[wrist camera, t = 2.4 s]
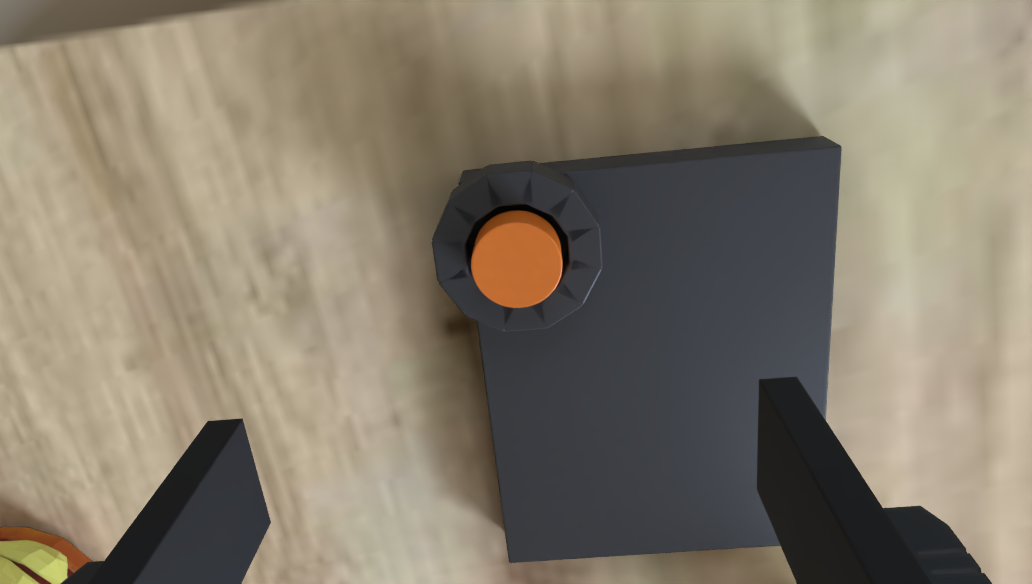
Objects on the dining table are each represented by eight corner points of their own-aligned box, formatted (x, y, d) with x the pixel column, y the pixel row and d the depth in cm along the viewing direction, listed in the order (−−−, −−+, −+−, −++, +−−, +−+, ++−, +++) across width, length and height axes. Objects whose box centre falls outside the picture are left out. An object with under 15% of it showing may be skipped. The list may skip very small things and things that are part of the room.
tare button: (468, 214, 28) (465, 226, 26) (557, 205, 27) (558, 218, 26) (479, 295, 29) (476, 312, 27) (564, 287, 29) (565, 304, 27)
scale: (434, 159, 30) (421, 180, 27) (824, 120, 29) (860, 138, 26) (488, 537, 37) (484, 590, 34) (805, 516, 36) (831, 569, 33)
